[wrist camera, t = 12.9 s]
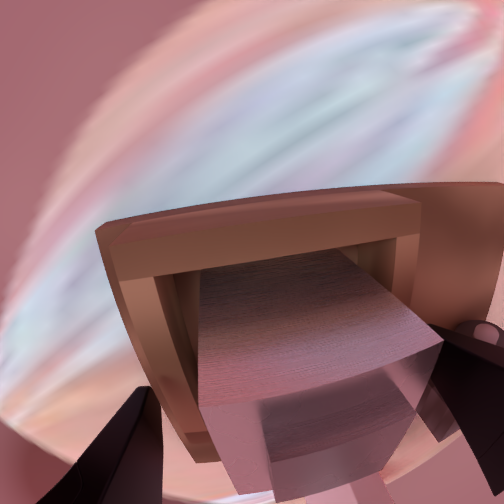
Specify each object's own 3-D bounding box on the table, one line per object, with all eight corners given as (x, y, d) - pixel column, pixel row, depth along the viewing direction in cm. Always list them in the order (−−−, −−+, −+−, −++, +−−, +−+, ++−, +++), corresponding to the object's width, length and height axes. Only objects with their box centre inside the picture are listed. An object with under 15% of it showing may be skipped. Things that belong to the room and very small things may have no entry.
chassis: (454, 370, 18) (489, 408, 12) (195, 449, 15) (199, 518, 10) (497, 182, 12) (564, 203, 7) (106, 222, 10) (26, 287, 4)
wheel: (459, 368, 15) (491, 402, 11) (419, 390, 15) (451, 432, 11) (483, 305, 13) (525, 337, 9) (442, 325, 13) (490, 368, 9)
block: (330, 350, 12) (400, 468, 6) (222, 371, 11) (242, 515, 5) (335, 247, 10) (466, 361, 4) (200, 268, 10) (200, 445, 3)
